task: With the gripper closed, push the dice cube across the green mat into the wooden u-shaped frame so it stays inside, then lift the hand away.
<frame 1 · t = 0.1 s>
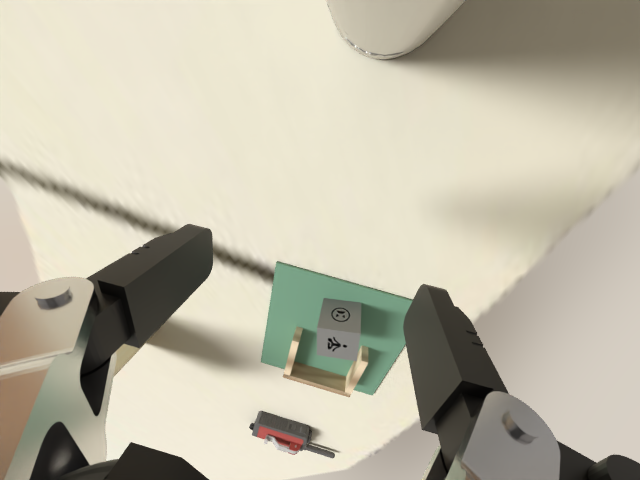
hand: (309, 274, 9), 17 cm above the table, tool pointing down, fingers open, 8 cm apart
wooden u-shaped frame: (325, 354, 38), resting on green mat
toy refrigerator: (133, 321, 43), on the table
green mat: (331, 337, 36), on the table
dice cube: (341, 312, 33), resting on green mat
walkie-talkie: (296, 427, 54), on the table
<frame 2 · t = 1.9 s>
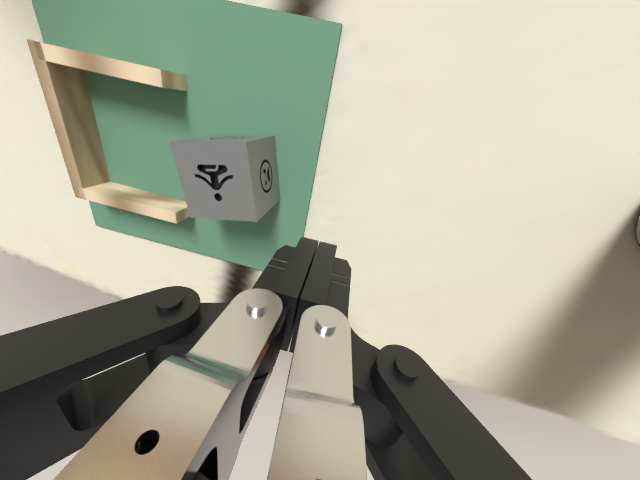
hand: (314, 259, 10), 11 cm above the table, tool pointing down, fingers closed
wooden u-shaped frame: (141, 141, 20), resting on green mat
green mat: (187, 151, 20), on the table
dice cube: (249, 168, 20), resting on green mat
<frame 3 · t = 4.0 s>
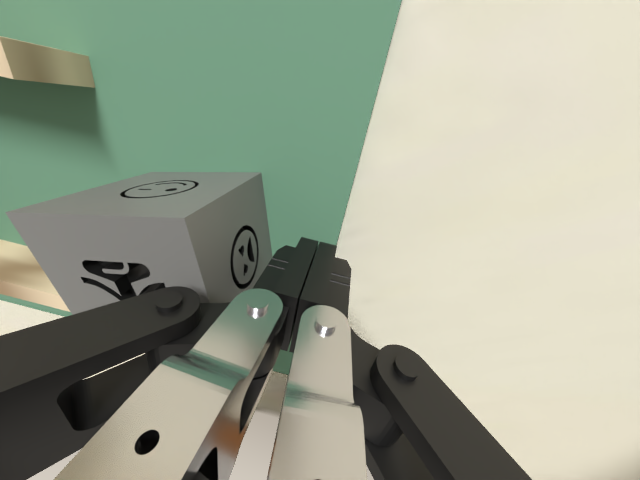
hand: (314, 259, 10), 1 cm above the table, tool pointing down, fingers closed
wooden u-shaped frame: (29, 176, 12), resting on green mat
green mat: (114, 193, 12), on the table
dice cube: (219, 224, 12), resting on green mat, touching gripper
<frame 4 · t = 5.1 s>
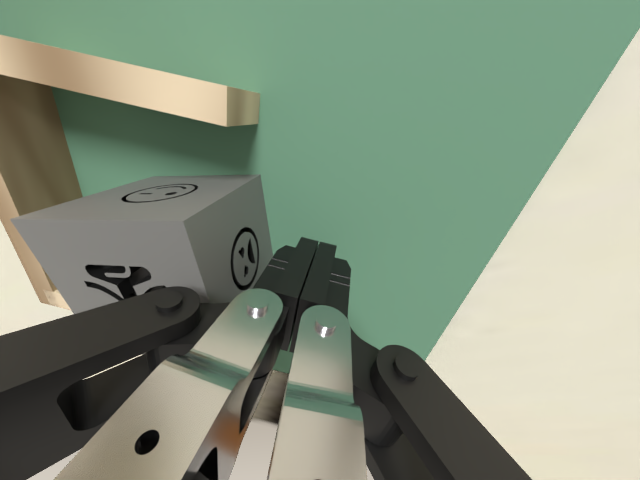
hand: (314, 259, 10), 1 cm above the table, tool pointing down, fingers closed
wooden u-shaped frame: (159, 206, 11), resting on green mat
green mat: (243, 223, 12), on the table
dice cube: (220, 226, 12), resting on green mat, touching gripper
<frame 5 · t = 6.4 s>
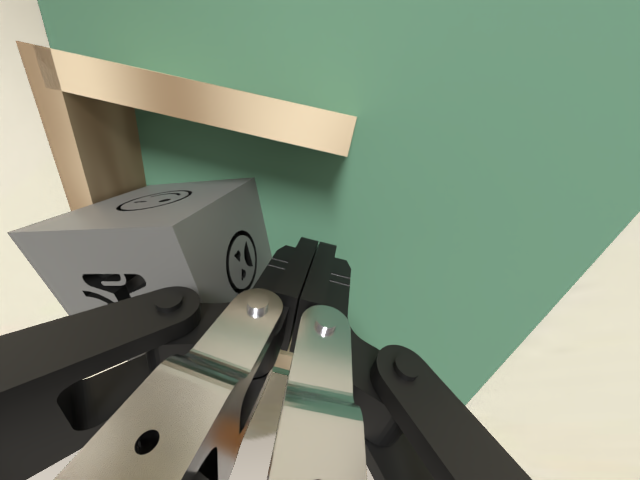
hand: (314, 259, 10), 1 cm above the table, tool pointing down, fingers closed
wooden u-shaped frame: (231, 225, 11), resting on green mat
green mat: (315, 243, 11), on the table
dice cube: (219, 231, 12), resting on green mat, touching gripper
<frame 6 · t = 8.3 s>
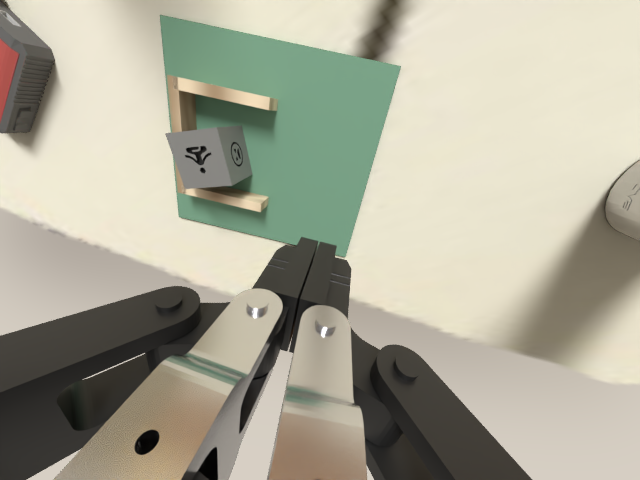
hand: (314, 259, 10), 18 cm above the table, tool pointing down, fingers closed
wooden u-shaped frame: (232, 148, 26), resting on green mat
green mat: (269, 155, 26), on the table
dice cube: (227, 152, 27), resting on green mat
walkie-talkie: (4, 88, 28), on the table
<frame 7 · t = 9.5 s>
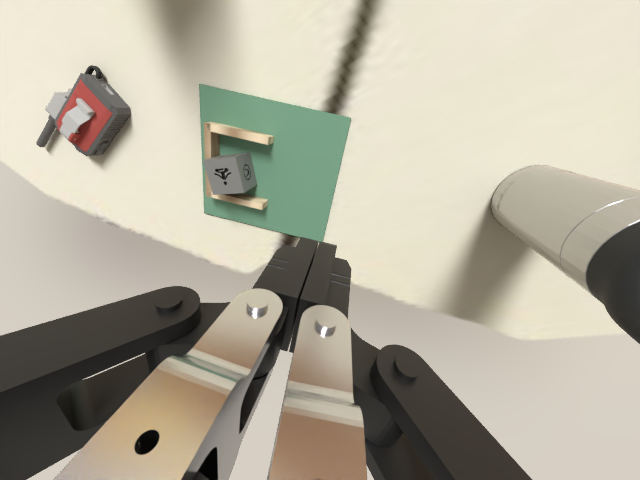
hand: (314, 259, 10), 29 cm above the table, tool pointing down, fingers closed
wooden u-shaped frame: (243, 166, 38), resting on green mat
green mat: (268, 171, 39), on the table
dice cube: (240, 169, 39), resting on green mat
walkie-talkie: (89, 124, 40), on the table
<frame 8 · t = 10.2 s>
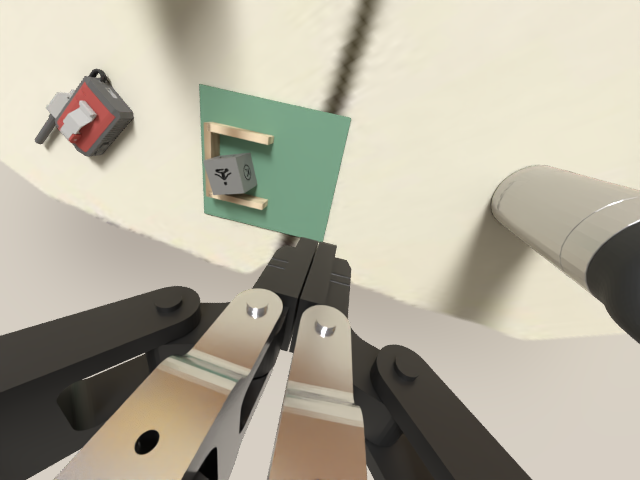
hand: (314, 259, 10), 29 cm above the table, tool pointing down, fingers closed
wooden u-shaped frame: (243, 166, 38), resting on green mat
green mat: (268, 171, 39), on the table
dice cube: (240, 170, 39), resting on green mat
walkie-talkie: (90, 124, 40), on the table
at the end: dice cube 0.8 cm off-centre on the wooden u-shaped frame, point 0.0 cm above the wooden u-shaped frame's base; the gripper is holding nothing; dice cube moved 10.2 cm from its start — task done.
